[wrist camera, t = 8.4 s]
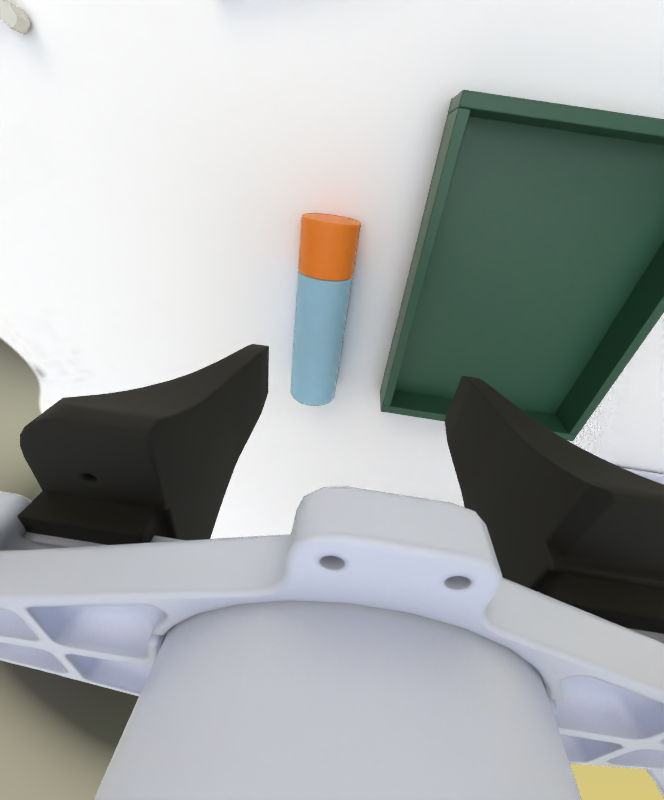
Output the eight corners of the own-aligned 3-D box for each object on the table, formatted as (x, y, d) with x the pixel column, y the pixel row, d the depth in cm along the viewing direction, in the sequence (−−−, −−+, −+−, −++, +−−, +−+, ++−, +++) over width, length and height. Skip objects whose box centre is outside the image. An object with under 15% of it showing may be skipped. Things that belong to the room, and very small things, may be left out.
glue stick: (315, 377, 23) (343, 396, 22) (281, 389, 22) (309, 411, 20) (332, 213, 18) (372, 224, 16) (289, 212, 16) (329, 225, 15)
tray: (557, 419, 23) (573, 441, 21) (379, 392, 23) (380, 411, 21) (735, 140, 14) (788, 137, 13) (451, 99, 14) (463, 89, 13)
